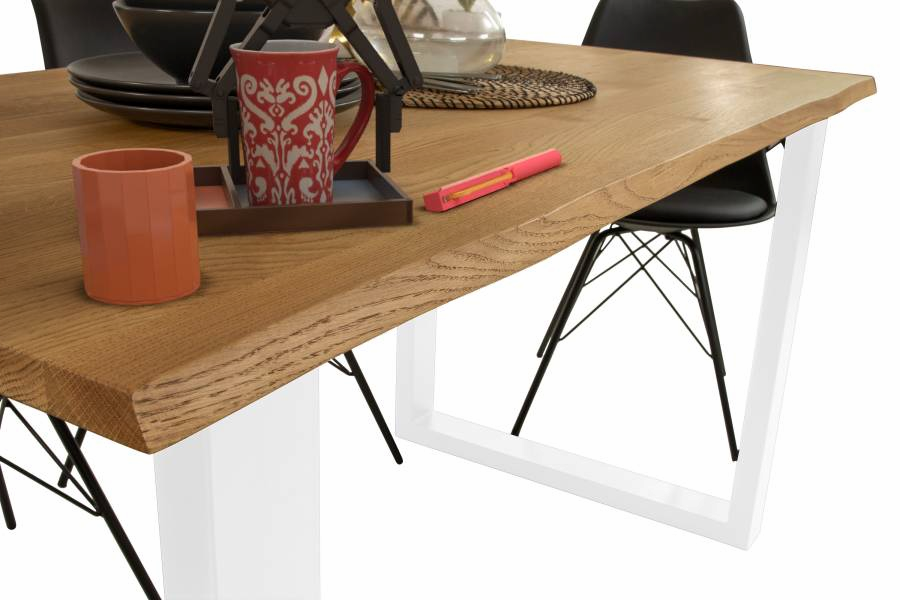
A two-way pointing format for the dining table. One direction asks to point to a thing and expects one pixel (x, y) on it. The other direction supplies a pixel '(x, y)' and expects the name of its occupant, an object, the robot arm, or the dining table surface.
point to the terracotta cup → (137, 225)
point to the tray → (353, 204)
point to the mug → (294, 119)
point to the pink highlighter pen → (490, 181)
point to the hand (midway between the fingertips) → (310, 172)
